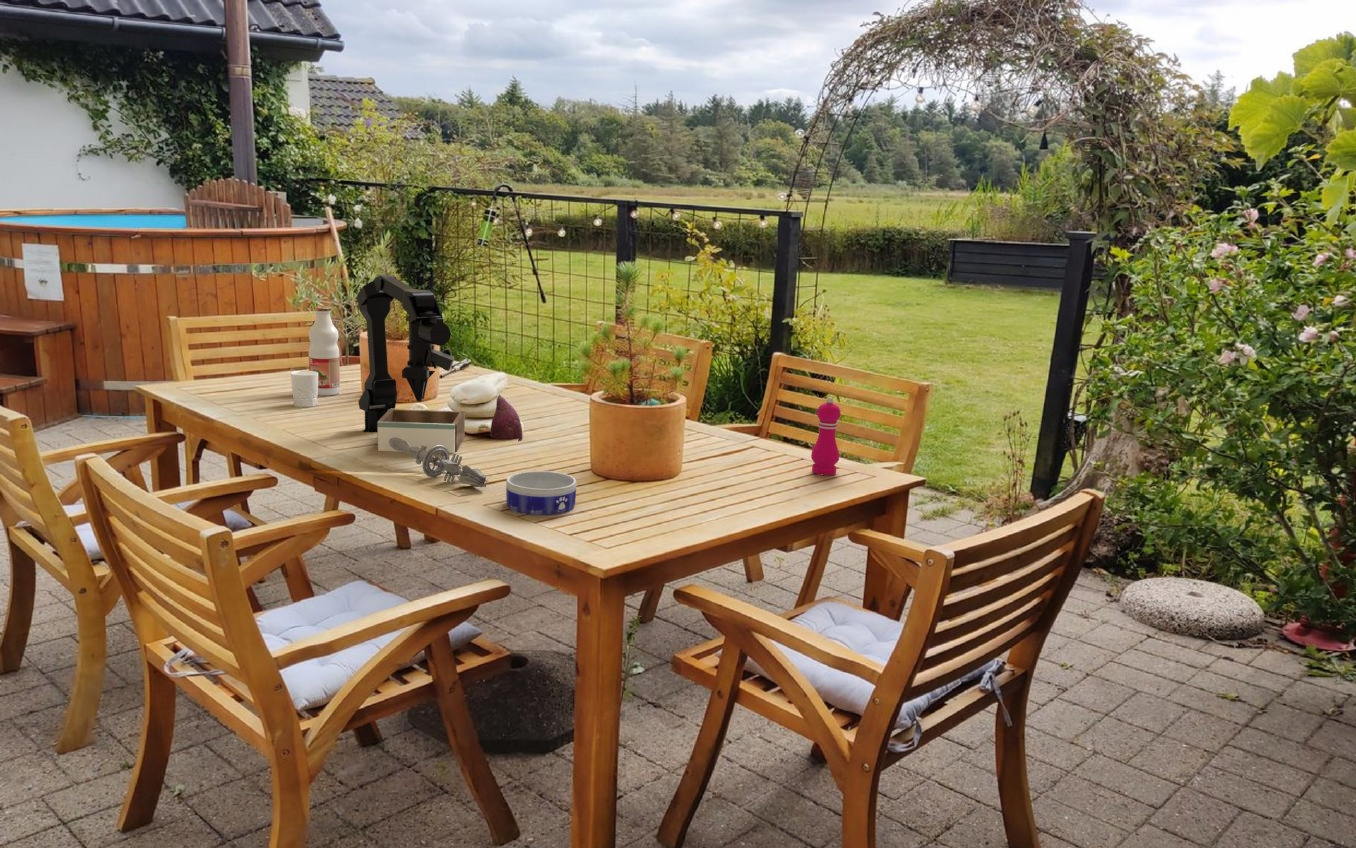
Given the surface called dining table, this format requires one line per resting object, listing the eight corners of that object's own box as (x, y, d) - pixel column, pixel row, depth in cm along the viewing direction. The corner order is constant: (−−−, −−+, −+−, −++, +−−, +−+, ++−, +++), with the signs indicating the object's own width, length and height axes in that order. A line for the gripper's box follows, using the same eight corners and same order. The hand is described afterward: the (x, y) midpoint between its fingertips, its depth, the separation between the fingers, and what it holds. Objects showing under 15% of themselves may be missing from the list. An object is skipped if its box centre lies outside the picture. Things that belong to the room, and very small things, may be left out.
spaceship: (406, 428, 257) (382, 421, 251) (503, 470, 238) (480, 463, 231) (394, 458, 257) (370, 452, 250) (490, 502, 238) (467, 496, 231)
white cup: (324, 405, 317) (323, 373, 314) (303, 408, 310) (302, 376, 308) (307, 401, 321) (306, 369, 319) (286, 404, 314) (285, 372, 312)
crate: (377, 452, 265) (377, 421, 263) (390, 437, 280) (389, 409, 278) (456, 454, 266) (456, 424, 265) (464, 440, 282) (464, 411, 280)
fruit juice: (344, 394, 333) (342, 308, 327) (315, 397, 328) (312, 309, 322) (334, 389, 340) (332, 305, 334) (305, 391, 335) (303, 305, 329)
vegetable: (485, 448, 285) (471, 402, 283) (505, 438, 293) (492, 393, 290) (511, 446, 281) (498, 398, 278) (531, 435, 288) (518, 389, 286)
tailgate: (377, 451, 263) (377, 422, 261) (379, 449, 264) (378, 421, 262) (454, 453, 264) (454, 424, 263) (454, 452, 266) (454, 423, 264)
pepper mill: (820, 477, 263) (826, 400, 258) (804, 470, 269) (810, 395, 264) (843, 475, 266) (850, 399, 262) (827, 468, 272) (833, 393, 268)
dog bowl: (546, 492, 238) (546, 466, 237) (589, 507, 228) (590, 481, 226) (491, 503, 227) (492, 477, 226) (535, 520, 217) (536, 493, 216)
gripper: (446, 346, 256) (446, 408, 259) (457, 336, 274) (456, 394, 277) (401, 345, 255) (401, 406, 258) (414, 335, 273) (414, 393, 276)
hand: (420, 400), depth 267 cm, fingers open, 3 cm apart
